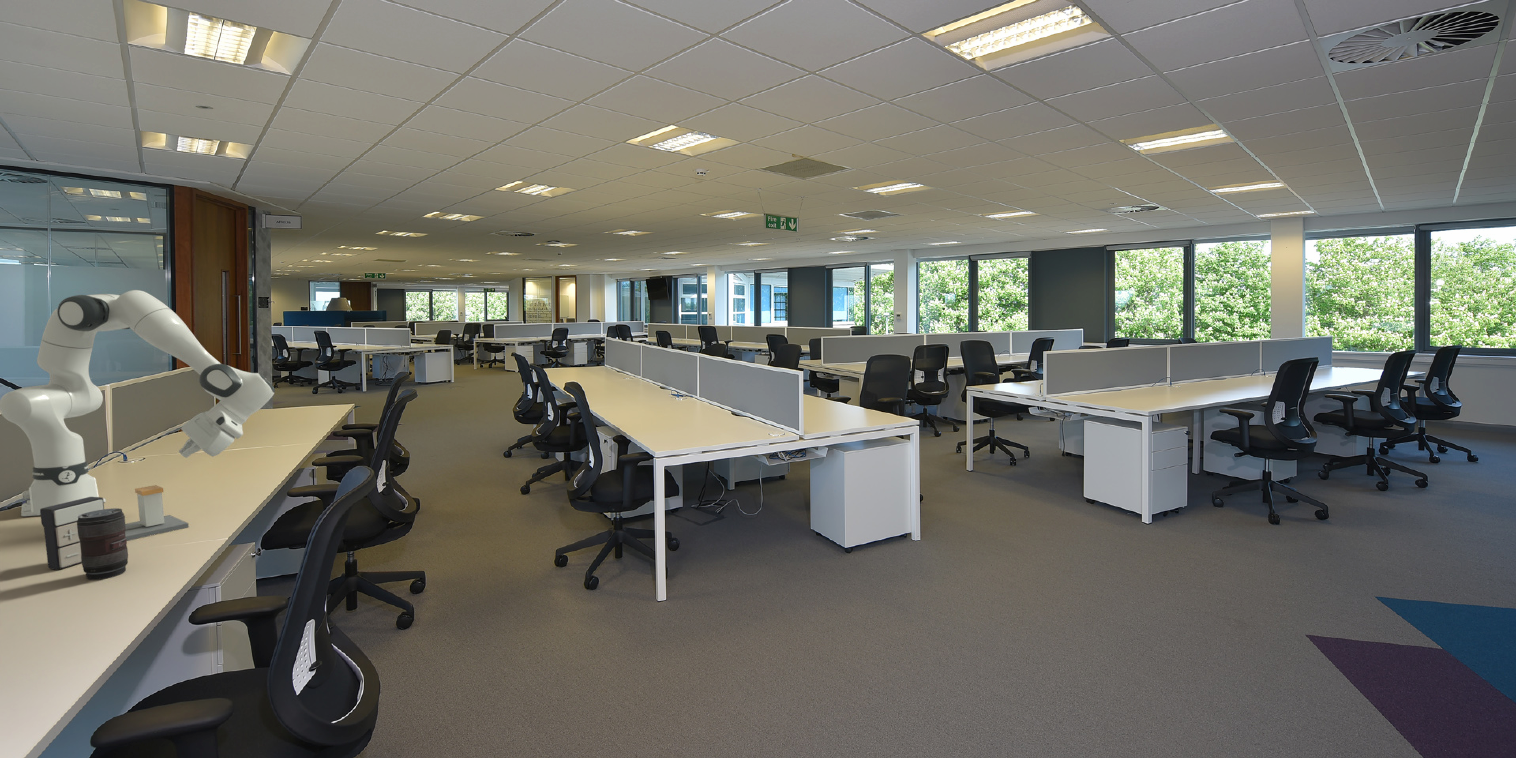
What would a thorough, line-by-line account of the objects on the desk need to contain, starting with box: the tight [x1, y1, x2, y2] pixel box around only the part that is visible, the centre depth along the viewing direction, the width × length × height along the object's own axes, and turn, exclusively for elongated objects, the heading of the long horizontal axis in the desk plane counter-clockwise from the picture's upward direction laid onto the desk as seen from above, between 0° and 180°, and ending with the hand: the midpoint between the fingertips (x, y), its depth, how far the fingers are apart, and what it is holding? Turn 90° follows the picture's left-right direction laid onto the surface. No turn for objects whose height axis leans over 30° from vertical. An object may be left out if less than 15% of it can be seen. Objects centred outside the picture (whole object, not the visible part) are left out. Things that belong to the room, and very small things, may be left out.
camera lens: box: [77, 507, 129, 581], centre depth 161 cm, size 8×8×15 cm
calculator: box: [40, 496, 105, 571], centre depth 168 cm, size 11×4×15 cm, turn 168°
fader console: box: [125, 514, 190, 541], centre depth 189 cm, size 14×24×1 cm, turn 148°
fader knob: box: [134, 484, 165, 527], centre depth 193 cm, size 6×5×10 cm
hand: (182, 454), depth 200 cm, fingers closed
